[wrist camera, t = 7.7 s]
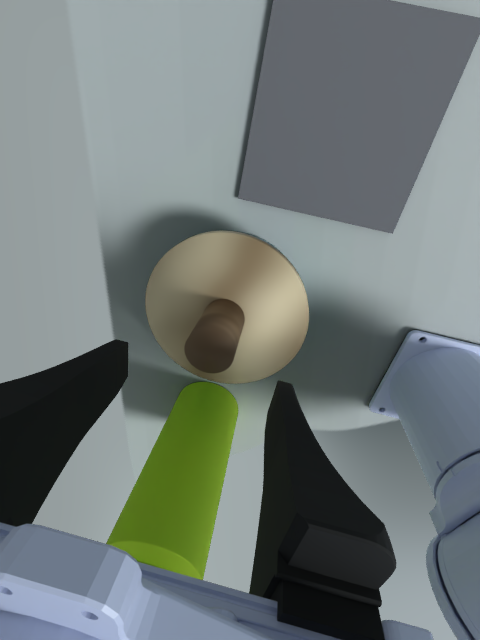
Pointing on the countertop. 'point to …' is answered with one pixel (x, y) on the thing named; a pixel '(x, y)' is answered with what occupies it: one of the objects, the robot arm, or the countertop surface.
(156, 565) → the soap dispenser
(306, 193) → the mat
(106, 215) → the countertop surface
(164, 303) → the lid
